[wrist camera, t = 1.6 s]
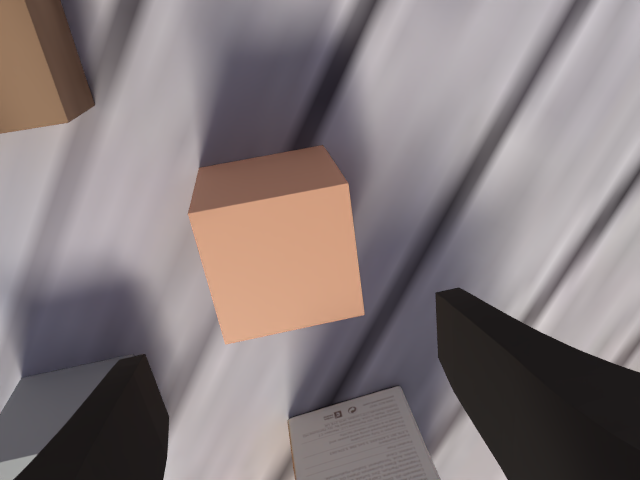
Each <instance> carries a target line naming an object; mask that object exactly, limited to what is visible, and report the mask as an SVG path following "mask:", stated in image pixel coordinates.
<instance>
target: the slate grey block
mask: <svg viewBox="0 0 640 480" xmlns="http://www.w3.org/2000/svg"><path fill="white" fill-rule="evenodd" d="M133 356H134V354H132V355H127V356H122V357H118V358H113V359H108V360H103V361H99V362H94V363H89V364H85V365H80V366H75V367H71V368H66V369H61V370H56V371H52V372H47V373H42V374H38V375H33V376H28V377H24V378H21V380H20V381H19V383H18V385H17V386H16V388H15V390H14V392H13V393H12V395H11V397H10V398H9V400H8V402H7V403H6V405H5V407H4V408H3V410H2V412H1V414H0V480H13V479H14V478H15V477H16V476H17V475H18V474H19V473H20V472H21V471H22V470H23V469H24V468H25V467H26V466H27V465H28V464H29V463H30V462H31V461H32V460H33V459H34V458H35V457H36V456H37V454H38V453H39V452H40V451H41V450H42V449H43V448H44V447H45V446H46V445H47V444H48V442H49V441H50V440H51V439H52V438H53V437H54V436H55V435H56V434H57V433H58V431H59V430H60V429H61V428H62V427H63V426H64V425H65V424H66V423H67V421H68V420H69V419H70V418H71V417H72V415H73V414H74V413H75V412H76V411H77V409H78V408H79V407H80V406H81V405H82V403H83V402H84V401H85V400H86V399H87V398H88V396H89V395H90V394H91V393H92V391H93V390H94V389H95V388H96V387H97V385H98V384H99V383H100V382H101V380H102V379H103V378H104V377H105V376H106V374H107V373H108V372H109V371H110V370H111V368H112V367H113V366H114V365H115V364H116V363H117V362H118V360H119V359H124V358H128V357H133Z"/></svg>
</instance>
